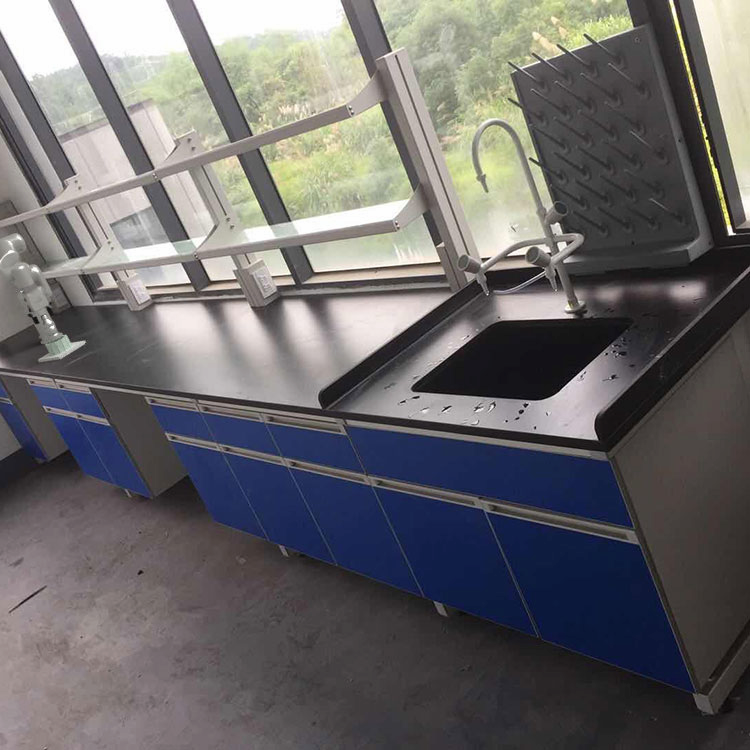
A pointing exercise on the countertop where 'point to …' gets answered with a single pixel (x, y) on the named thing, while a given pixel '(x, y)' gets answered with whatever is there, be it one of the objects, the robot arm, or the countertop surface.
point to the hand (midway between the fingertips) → (45, 319)
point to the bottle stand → (60, 349)
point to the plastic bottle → (50, 328)
